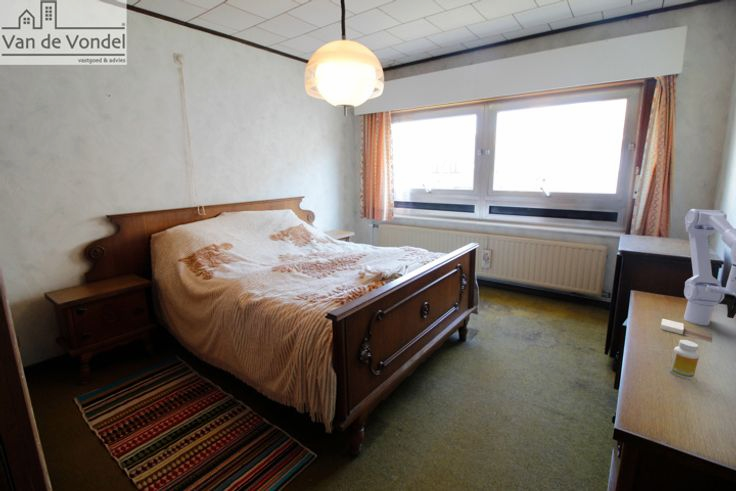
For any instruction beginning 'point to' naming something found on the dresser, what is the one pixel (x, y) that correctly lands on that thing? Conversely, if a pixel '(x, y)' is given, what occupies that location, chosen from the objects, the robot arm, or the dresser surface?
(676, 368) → the supplement bottle
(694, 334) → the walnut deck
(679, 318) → the dresser surface
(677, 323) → the cream tile
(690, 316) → the robot arm
